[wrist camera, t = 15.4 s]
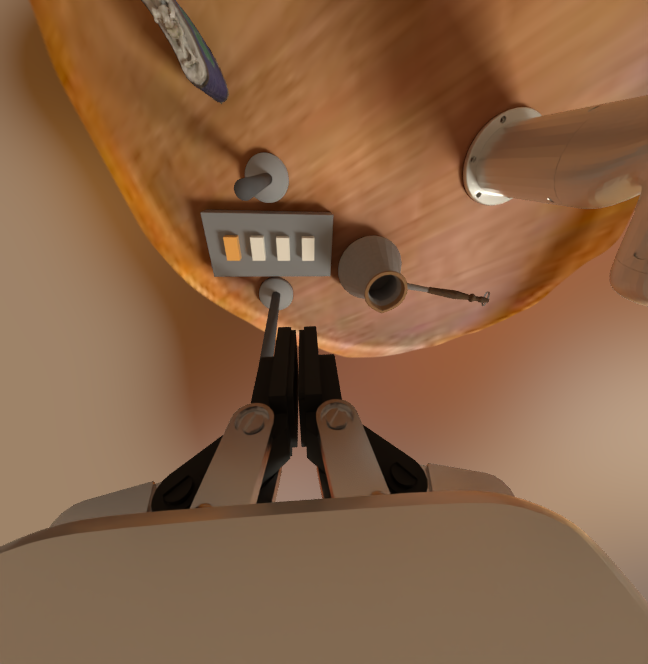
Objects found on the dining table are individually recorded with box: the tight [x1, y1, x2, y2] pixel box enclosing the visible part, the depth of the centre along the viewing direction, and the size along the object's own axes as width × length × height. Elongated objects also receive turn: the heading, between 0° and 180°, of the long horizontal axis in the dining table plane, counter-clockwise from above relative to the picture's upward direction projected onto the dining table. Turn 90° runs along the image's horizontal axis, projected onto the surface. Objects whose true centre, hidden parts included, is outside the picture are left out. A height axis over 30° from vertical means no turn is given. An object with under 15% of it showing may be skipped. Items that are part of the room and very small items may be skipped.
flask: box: [141, 0, 229, 104], centre depth 26 cm, size 9×3×11 cm, turn 29°
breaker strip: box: [200, 210, 333, 277], centre depth 42 cm, size 20×10×4 cm, turn 88°
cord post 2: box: [259, 277, 293, 363], centre depth 40 cm, size 6×6×21 cm
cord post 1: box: [234, 153, 289, 203], centre depth 30 cm, size 6×6×21 cm
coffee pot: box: [338, 236, 490, 313], centre depth 42 cm, size 21×12×15 cm, turn 85°
